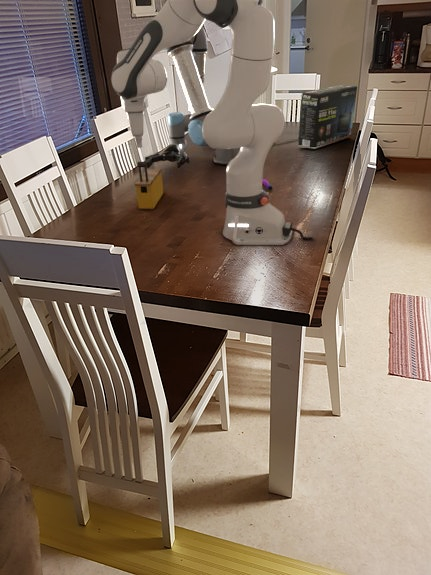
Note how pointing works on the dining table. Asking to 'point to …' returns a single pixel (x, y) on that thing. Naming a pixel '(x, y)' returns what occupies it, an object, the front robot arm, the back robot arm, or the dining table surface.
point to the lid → (146, 175)
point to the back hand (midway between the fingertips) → (162, 165)
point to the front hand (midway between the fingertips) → (139, 144)
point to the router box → (326, 115)
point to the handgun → (267, 184)
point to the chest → (150, 193)
